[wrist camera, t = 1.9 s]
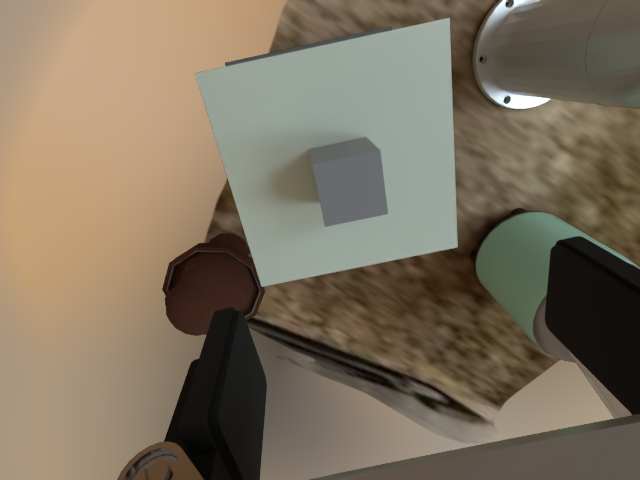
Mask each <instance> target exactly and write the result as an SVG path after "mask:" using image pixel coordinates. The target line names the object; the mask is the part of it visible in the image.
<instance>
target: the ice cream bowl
mask: <svg viewBox="0 0 640 480" xmlns="http://www.w3.org/2000/svg"><path fill="white" fill-rule="evenodd" d="M248 255H249V251H248V248H247V246H246V243H245V241H243V240H242V239H240V238H239V237H237V236H236V235H234V234H220V235H218V236H216V237H215V238H213V239H212V240H210V243H199V244H198V245H196V246H194V247H193V248H191V249H189V250H188V251H186V252H185V253H183V254H182V255H180V256H178V257H177V258H175V259H174V260H173V261H172V262H170V263H169V266H168V270H167V274H166V277H165V281H164V285H163V292H164V293H165V295H166V298H165V304H166V315H167V317H168V319H169V320H170V322H171V323H172V324H173V325H174V327H175V328H176V329H178V330H180V331H182V332H184V333H185V334H190V335H196V336H198V335H202V334H205V335H206V334H207V332H208V329H209V326H210V323H211V320H212V317H213V314H214V312H215V311H216V310H221V309H226V308H231V307H234V308H235V309H236V311H240V310H241V311H242V312H243V314H244V316H245V319H246V321H247V320H248V319H250V318H252V317H254V316H255V315H256V313H257V311H258V308H259V305H260V303H261V300H262V298H263V295H264V293H265V289H264V287H262V286H261V283H260V280H259V277H258V274H257V270H256V267H255V264H254V261H253V259H252V258H251V257H249V256H248Z"/></svg>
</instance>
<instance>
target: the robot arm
mask: <svg viewBox="0 0 640 480" xmlns="http://www.w3.org/2000/svg"><path fill="white" fill-rule="evenodd" d="M506 2H507V6H506V5H505V3H506ZM480 57H481V61H479V59H480ZM473 70H474V76H475V79H476V82H477V84H478V86H479V88H480V90H481V91H482V93H483V94H484V95H485V96H486V97H487V98H488V99H489V100H490V101H492V102H493V103H495V104H497V105H499V106H502V107H505V108H509V109H529V108H534V107H537V106H539V105H542V104H544V103H546V102H548V101H549V100H551V99H556V100H564V101H573V102H581V103H589V104H598V105H606V106H614V107H623V108H632V109H640V0H499V1H498V2H497V3H496V4H495V5H494V6H493V7H492V9H491V10H490V11H489V13H488V14H487V15H486V17H485V19H484V21H483V22H482V24H481V26H480V28H479V31H478V34H477V36H476V39H475V44H474V49H473ZM504 98H505V100H504ZM503 100H504V101H503ZM545 324H546V326H547V328H548V329H549V331H550V332H551V333H552V334H553V335H554V336H555V337H556V338H557V339H558V340H559V341H560V342H561V343H562V344H563V345H564V346H565V347H566V348H567V349H568V350H569V351H570V352H571V353H572V354H573V355H574V356H575V357H576V358H577V359H578V360H579V361H580V362H581V363H582V364H583V365H584V366H585V367H586V368H587V369H588V370H589V371H590V372H591V373H592V374H593V375H594V376H595V377H596V378H597V379H598V380H599V381H600V382H601V383H602V385H603V386H604V387H605V388H606V389H607V390H608V391H609V392H610V393H611V394H612V395H613V396H614V397H615V398H616V399H617V400H618V401H619V402H620V403H621V404H622V405H623V406H624V407H625V408H626V409H627V410H628V411H629V412H630V413H631V414H632V416H626V417H621V418H616V419H611V420H605V421H601V422H595V423H590V424H584V425H579V426H574V427H568V428H563V429H558V430H553V431H549V432H543V433H538V434H533V435H527V436H522V437H517V438H512V439H507V440H502V441H497V442H492V443H487V444H481V445H476V446H471V447H466V448H461V449H456V450H451V451H446V452H441V453H436V454H431V455H426V456H421V457H416V458H411V459H406V460H401V461H396V462H392V463H387V464H382V465H377V466H372V467H367V468H362V469H357V470H352V471H347V472H342V473H338V474H333V475H329V476H324V477H319V478H315V479H310V480H640V269H638V268H636V267H634V266H633V265H631V264H629V263H627V262H626V261H624V260H622V259H620V258H619V257H617V256H615V255H614V254H612V253H610V252H608V251H607V250H605V249H603V248H601V247H600V246H598V245H596V244H594V243H593V242H591V241H589V240H587V239H586V238H584V237H581V236H576V237H571V238H566V239H562V240H559V241H557V242H556V244H555V246H553V247H552V248H551V251H550V262H549V273H548V285H547V296H546V308H545ZM266 389H267V384H266V377H265V374H264V371H263V368H262V365H261V362H260V359H259V356H258V354H257V351H256V348H255V345H254V343H253V339H252V336H251V334H250V331H249V328H248V325H247V322H246V319H245V316H244V314H243V312H242V311H241V310H240V311H236V309H235V308H234V307H231V308H226V309H221V310H216V311H215V312H214V314H213V317H212V320H211V323H210V326H209V329H208V332H207V336H206V339H205V342H204V345H203V348H202V351H201V355H200V358H199V359H196V360H194V361H193V362H192V363H191V365H190V367H189V370H188V373H187V376H186V379H185V382H184V385H183V388H182V391H181V393H180V396H179V400H178V402H177V405H176V408H175V411H174V414H173V417H172V420H171V423H170V426H169V429H168V432H167V435H166V437H165V440H164V442H159V443H156V444H154V445H151V446H149V447H147V448H145V449H144V450H143V451H141V452H139V453H138V454H137V455H136V456H135V457H134V458H133V459H132V460H130V461H129V462H128V464H127V465H126V466H125V468H124V469H123V470H122V471H121V473H120V475H119V477H118V479H117V480H260V467H261V454H262V440H263V428H264V416H265V403H266Z"/></svg>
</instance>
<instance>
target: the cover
mask: <svg viewBox="0 0 640 480" xmlns="http://www.w3.org/2000/svg"><path fill="white" fill-rule="evenodd" d="M195 75H196V79H197V82H198V85H199V88H200V92H201V95H202V98H203V101H204V104H205V107H206V111H207V114H208V117H209V120H210V123H211V127H212V130H213V133H214V136H215V139H216V143H217V146H218V149H219V152H220V155H221V159H222V162H223V165H224V168H225V171H226V175H227V178H228V181H229V184H230V187H231V191H232V194H233V197H234V200H235V203H236V207H237V210H238V213H239V216H240V219H241V223H242V226H243V229H244V232H245V235H246V239H247V242H248V245H249V248H250V251H251V254H252V258H253V261H254V264H255V267H256V270H257V274H258V277H259V280H260V283H261V286H262V287H264V286H269V285H274V284H279V283H284V282H289V281H293V280H298V279H303V278H308V277H313V276H318V275H323V274H328V273H333V272H338V271H343V270H348V269H353V268H358V267H363V266H368V265H373V264H378V263H383V262H388V261H392V260H397V259H402V258H407V257H412V256H417V255H422V254H427V253H432V252H437V251H442V250H447V249H452V248H457V247H458V242H457V214H456V186H455V157H454V129H453V101H452V72H451V44H450V18H446V19H441V20H437V21H432V22H428V23H423V24H418V25H414V26H409V27H405V28H400V29H395V30H391V31H386V32H382V33H377V34H373V35H368V36H363V37H359V38H354V39H350V40H345V41H340V42H336V43H331V44H327V45H322V46H317V47H313V48H308V49H304V50H299V51H294V52H290V53H285V54H281V55H276V56H272V57H267V58H262V59H258V60H253V61H249V62H244V63H239V64H235V65H230V66H226V67H221V68H217V69H212V70H208V71H203V72H198V73H195Z"/></svg>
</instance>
